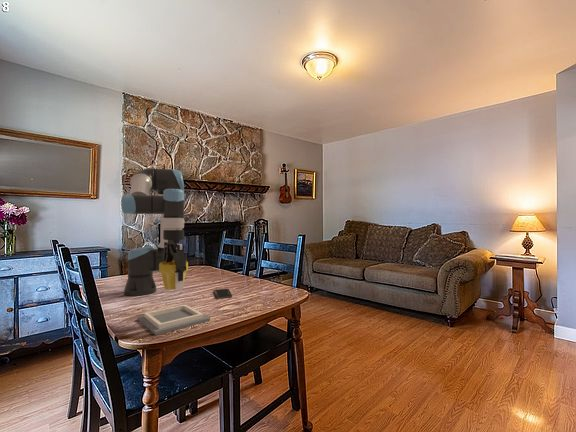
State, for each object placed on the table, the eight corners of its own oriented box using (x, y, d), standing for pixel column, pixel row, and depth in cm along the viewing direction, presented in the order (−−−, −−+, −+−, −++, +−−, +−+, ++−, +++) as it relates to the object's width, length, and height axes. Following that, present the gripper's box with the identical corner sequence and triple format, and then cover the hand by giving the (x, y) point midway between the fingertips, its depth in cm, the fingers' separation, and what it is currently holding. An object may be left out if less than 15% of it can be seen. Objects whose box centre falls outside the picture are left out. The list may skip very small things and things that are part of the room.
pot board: (137, 319, 113) (137, 312, 113) (187, 308, 127) (187, 302, 127) (155, 335, 99) (155, 327, 99) (209, 320, 112) (209, 314, 112)
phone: (216, 297, 141) (213, 289, 156) (216, 299, 141) (213, 291, 156) (232, 296, 144) (228, 288, 158) (232, 298, 144) (228, 290, 158)
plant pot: (164, 292, 105) (164, 265, 105) (155, 287, 113) (155, 262, 113) (192, 288, 112) (192, 262, 112) (181, 283, 120) (181, 259, 120)
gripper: (196, 230, 107) (196, 290, 107) (172, 228, 124) (172, 280, 124) (175, 230, 102) (175, 294, 102) (153, 228, 118) (153, 283, 118)
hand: (173, 286), depth 113 cm, fingers closed on plant pot, 10 cm apart
